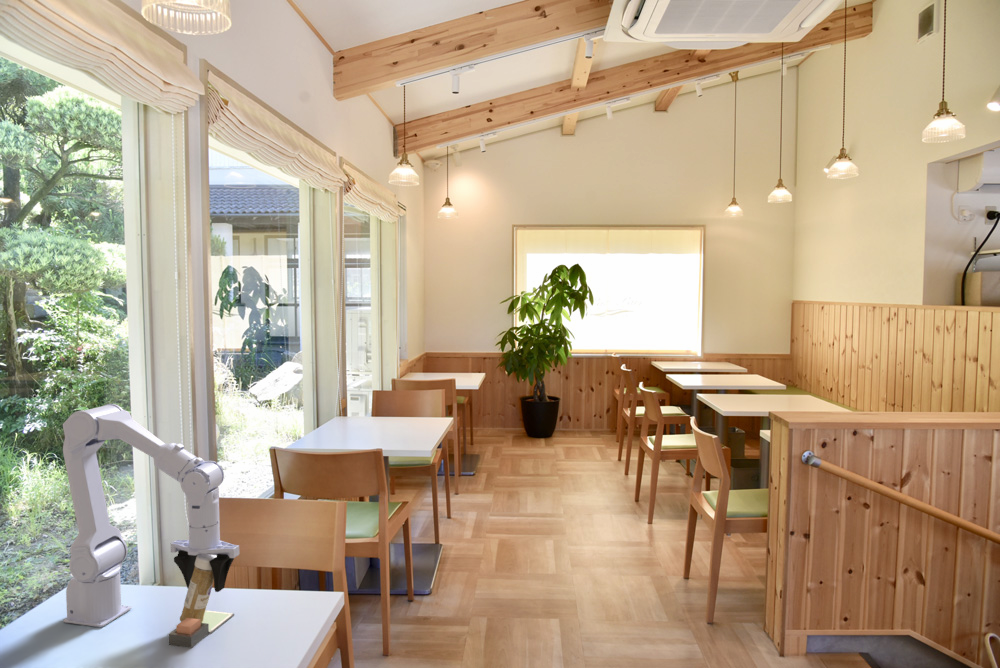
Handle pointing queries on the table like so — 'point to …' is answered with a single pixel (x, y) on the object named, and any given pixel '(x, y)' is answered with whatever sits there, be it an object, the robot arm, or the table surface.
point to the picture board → (216, 619)
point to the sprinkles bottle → (199, 588)
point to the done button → (188, 626)
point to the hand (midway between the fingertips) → (205, 588)
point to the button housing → (188, 637)
